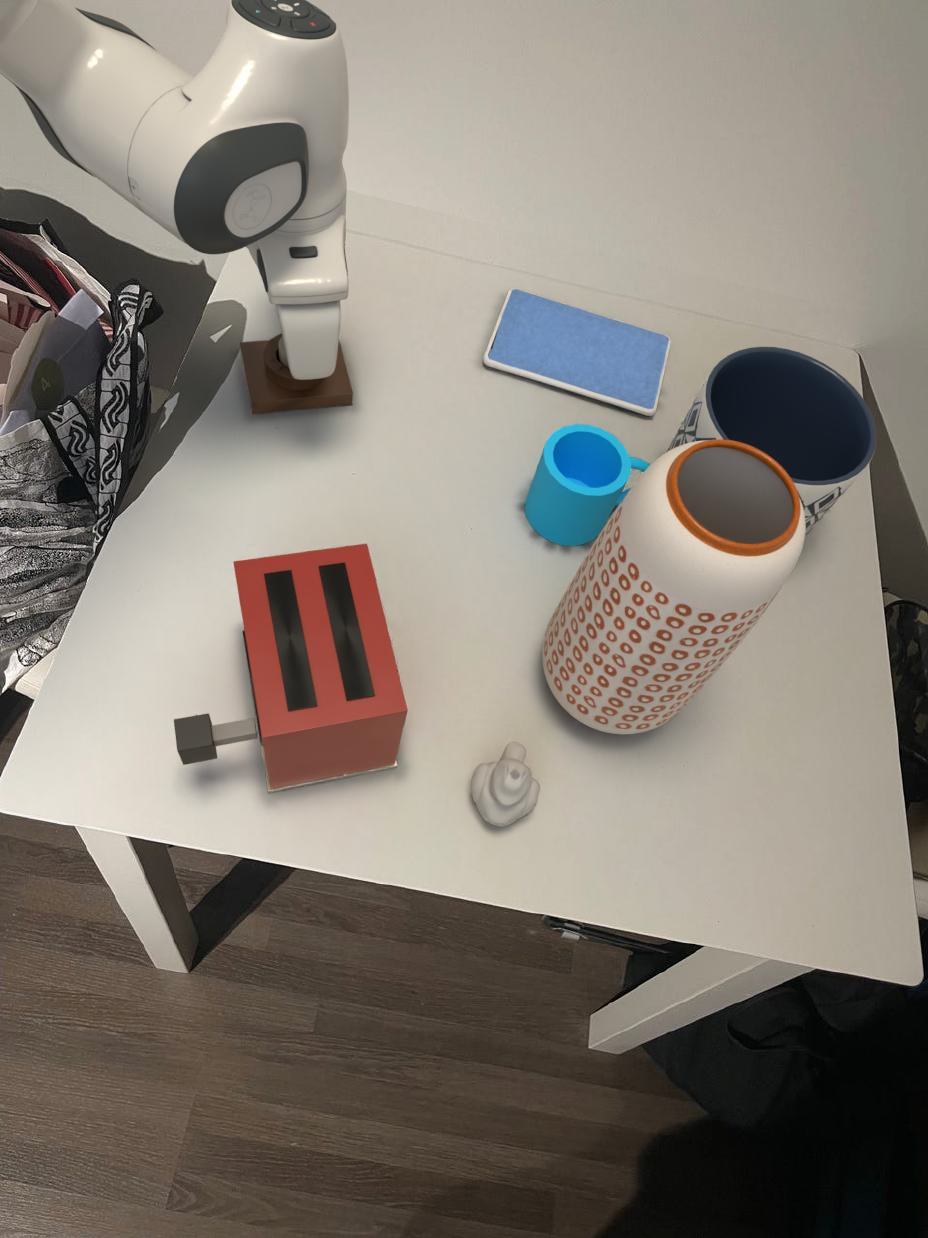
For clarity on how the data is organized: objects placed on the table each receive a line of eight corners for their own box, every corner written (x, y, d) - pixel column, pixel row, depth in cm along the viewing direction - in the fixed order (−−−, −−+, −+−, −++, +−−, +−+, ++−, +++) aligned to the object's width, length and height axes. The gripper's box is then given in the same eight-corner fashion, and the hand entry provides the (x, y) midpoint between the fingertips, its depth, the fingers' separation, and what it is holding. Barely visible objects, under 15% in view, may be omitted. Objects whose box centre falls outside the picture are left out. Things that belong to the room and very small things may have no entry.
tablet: (479, 367, 93) (481, 358, 91) (508, 291, 99) (510, 282, 98) (651, 422, 93) (656, 414, 91) (669, 343, 99) (673, 334, 98)
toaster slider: (183, 765, 62) (177, 751, 59) (179, 734, 63) (173, 719, 60) (259, 750, 63) (257, 736, 61) (254, 720, 64) (252, 705, 62)
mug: (536, 550, 83) (556, 499, 75) (515, 481, 86) (533, 427, 79) (651, 537, 85) (681, 487, 78) (626, 471, 89) (653, 417, 82)
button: (281, 370, 84) (281, 357, 83) (276, 346, 86) (276, 333, 84) (314, 368, 85) (314, 355, 84) (309, 344, 86) (308, 330, 85)
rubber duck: (458, 821, 69) (474, 791, 62) (479, 746, 72) (496, 710, 65) (523, 841, 69) (545, 814, 62) (540, 765, 72) (564, 732, 65)
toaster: (268, 794, 68) (258, 740, 57) (242, 633, 74) (229, 558, 63) (397, 767, 70) (411, 712, 60) (362, 614, 77) (369, 539, 66)
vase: (693, 743, 75) (874, 579, 51) (546, 758, 73) (662, 593, 48) (655, 609, 81) (800, 404, 57) (518, 618, 79) (608, 408, 54)
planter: (662, 427, 92) (717, 324, 80) (804, 473, 92) (880, 377, 80) (637, 544, 85) (693, 450, 72) (792, 594, 85) (874, 509, 72)
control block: (252, 414, 85) (249, 389, 82) (240, 354, 89) (238, 328, 86) (352, 404, 88) (353, 380, 85) (337, 346, 91) (338, 321, 88)
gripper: (235, 135, 75) (247, 266, 87) (272, 304, 66) (279, 423, 78) (308, 133, 77) (310, 262, 89) (353, 299, 68) (348, 417, 80)
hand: (296, 339), depth 83 cm, fingers closed
